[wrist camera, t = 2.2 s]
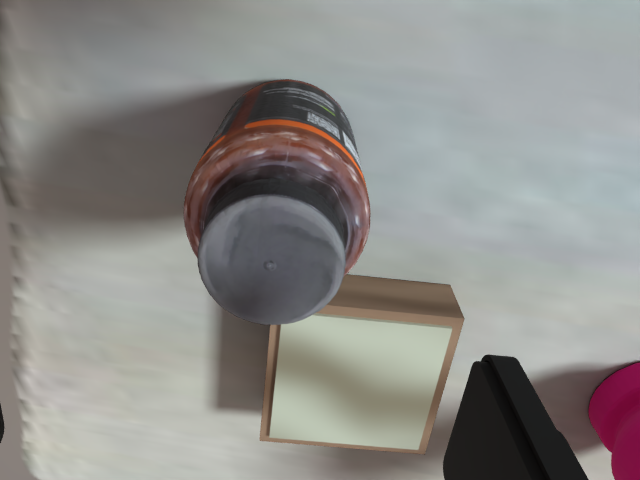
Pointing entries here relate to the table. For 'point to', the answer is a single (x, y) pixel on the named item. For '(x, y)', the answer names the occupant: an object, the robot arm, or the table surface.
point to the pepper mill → (619, 420)
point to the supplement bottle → (278, 204)
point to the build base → (363, 367)
